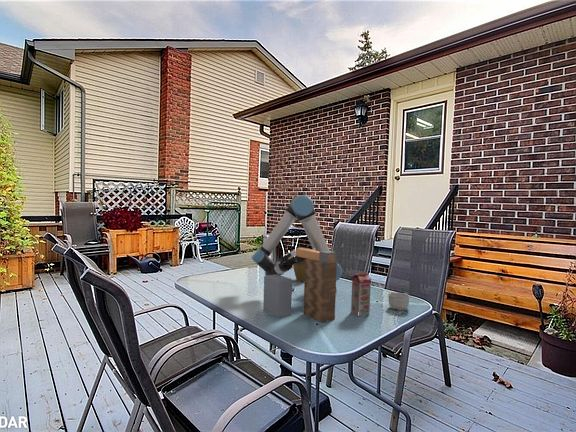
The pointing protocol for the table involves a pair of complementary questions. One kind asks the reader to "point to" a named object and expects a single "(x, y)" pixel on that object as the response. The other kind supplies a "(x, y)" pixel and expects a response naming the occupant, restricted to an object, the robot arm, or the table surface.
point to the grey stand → (277, 295)
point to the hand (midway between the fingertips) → (305, 251)
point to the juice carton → (361, 294)
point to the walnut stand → (320, 290)
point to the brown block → (317, 255)
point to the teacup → (399, 300)
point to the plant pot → (300, 271)
